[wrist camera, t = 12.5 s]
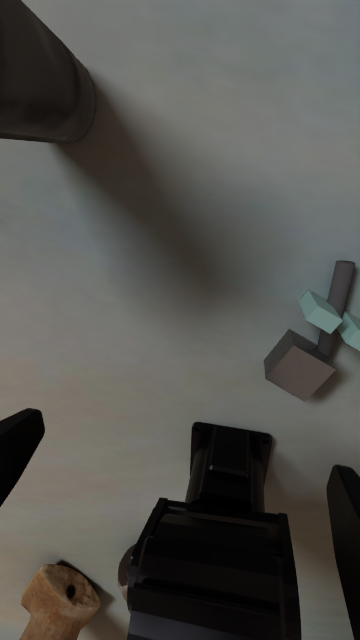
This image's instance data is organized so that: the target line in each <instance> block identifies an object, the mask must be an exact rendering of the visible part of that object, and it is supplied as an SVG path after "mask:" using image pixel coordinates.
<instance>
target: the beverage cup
mask: <svg viewBox="0 0 360 640" xmlns="http://www.w3.org/2000/svg"><path fill="white" fill-rule="evenodd" d="M95 112H96V95H95V90H94V85H93V82H92V80H91V78H90V76H89V74H88V71H87V69H86V68H85V67H84V66H83V65H82V64H81V63H80V61H79V60H78V59H77V58H75V56H74V54H73V53H72V52H71V51H70V50H69V49H68V48H67V47H66V45H65V44H64V43H63V42H62V41H61V40H60V39H59V38H58V37H57V36H56V35H55V34H54V33H53V32H52V31H51V30H50V29H49V28H48V27H47V26H46V25H45V24H44V23H43V22H42V21H41V20H40V19H39V18H38V17H37V16H36V15H35V14H34V13H33V12H32V11H31V10H30V9H29V8H28V7H27V6H26V5H25V4H24V3H23V2H22V1H21V0H0V138H3V139H14V140H25V141H37V142H48V143H55V142H65V143H69V142H73V141H77V140H78V139H80V138H81V137H82V136H84V135H85V134H86V133H87V131H88V129H89V128H90V126H91V125H92V122H93V119H94V115H95Z"/></svg>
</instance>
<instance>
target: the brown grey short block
mask: <svg viewBox="0 0 360 640" xmlns="http://www.w3.org/2000/svg"><path fill="white" fill-rule="evenodd" d="M264 366H265V379H266V380H268V381H270V382H272V383H273V384H275V385H277V386H279V387H280V388H282V389H284V390H285V391H287V392H289V393H291V394H292V395H294V396H296V397H298V398H299V399H301V400H303V401H306V400H307V399H308V398H309V397H310V396H311V395H312V394H313V393H314V392H315V391H316V390H317V389H318V388H319V387H320V386H321V385H322V384H323V383H324V382H325V381H326V380H327V379H328V378H329V377H330V375H331V374H332V373H333V372H334V371H335V370H336V368H335V366H334V364H333V362H332V360H331V358H330V357H328V356H326V355H324V354H323V353H322V352H320V351H319V350H318V348H317V345H316V344H314V343H313V342H311V341H309V340H307V339H306V338H304V337H302V336H301V335H299V334H297V333H295V332H294V331H292V330H290V329H289V330H288V331H287V332H286V334H285V335H284V336H283V337H282V339H281V340H280V341H279V342H278V344H277V345H276V346H275V347H274V349H273V350H272V351H271V352H270V354H269V355H268V356H267V357H266V359H265V360H264Z"/></svg>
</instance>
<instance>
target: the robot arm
mask: <svg viewBox="0 0 360 640" xmlns="http://www.w3.org/2000/svg"><path fill="white" fill-rule="evenodd" d="M197 428H200V429H197ZM44 433H45V426H44V422H43V417H42V413H41V411H40V410H38V409H32V408H27V409H24V410H22V411H20V412H18V413H16V414H14V415H12V416H10V417H8V418H5V419H3V420H1V421H0V507H1V505H2V504H3V502H4V501H5V499H6V498H7V497H8V495H9V494H10V492H11V491H12V489H13V488H14V486H15V485H16V483H17V482H18V480H19V478H20V477H21V475H22V473H23V472H24V470H25V468H26V466H27V464H28V463H29V461H30V459H31V457H32V456H33V454H34V452H35V450H36V448H37V447H38V445H39V443H40V441H41V440H42V438H43V436H44ZM264 439H266V440H264ZM271 445H272V438H271V436H270V435H269V434H267V433H261V432H255V431H249V430H243V429H237V428H231V427H225V426H219V425H213V424H207V423H201V422H195V423H194V424H193V426H192V436H191V462H190V480H189V485H188V490H187V494H186V499H185V502H180V501H172V500H168V499H167V498H159V500H158V502H157V504H156V506H155V507H154V509H153V511H152V513H151V515H150V517H149V519H148V521H147V523H146V525H145V527H144V529H143V531H142V533H141V535H140V537H139V539H138V541H137V543H136V546H135V548H134V550H133V552H132V555H131V560H130V561H129V563H128V565H127V569H126V575H127V577H128V586H127V606H128V610H129V612H130V613H131V616H130V623H129V631H128V636H127V640H301V619H300V605H299V594H298V584H297V575H296V568H295V562H294V556H293V549H292V543H291V537H290V530H289V524H288V518H287V514H284V513H278V514H272V513H265V507H264V483H265V478H266V472H267V467H268V461H269V456H270V451H271ZM327 499H328V507H329V514H330V522H331V530H332V537H333V545H334V552H335V558H336V563H337V568H338V572H339V576H340V580H341V585H342V589H343V593H344V598H345V602H346V606H347V610H348V615H349V619H350V623H351V627H352V632H353V636H354V640H360V477H359V475H358V474H357V473H356V472H355V471H354V470H353V469H352V468H351V467H348V466H342V465H334V466H333V468H332V471H331V474H330V477H329V481H328V484H327Z"/></svg>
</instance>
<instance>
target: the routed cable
mask: <svg viewBox="0 0 360 640" xmlns="http://www.w3.org/2000/svg"><path fill="white" fill-rule="evenodd" d="M354 267H355V263H354V262H350V261H336V265H335V270H334V274H333V279H332V283H331V287H330V292H329V296H328V301H327V302H328V303H329V304H330V305H331V306H332V307H334V309H335V310H336V312H337V313H338V314H339V316H340V317H341V318H342V314H343V311H344V307H345V303H346V299H347V295H348V291H349V287H350V283H351V279H352V275H353V271H354ZM337 334H338V330H337V327H336V329H335V330H334V331H333V332H332V333H331V334H329V333H328V332H326V331H324V330H323V329H321V331H320V336H319V340H318V345H317V348H318V350H319V351H320V352H322V353H323V354H324V355H326V356H328V357H330V358H332V354H333V350H334V346H335V342H336V338H337Z"/></svg>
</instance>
